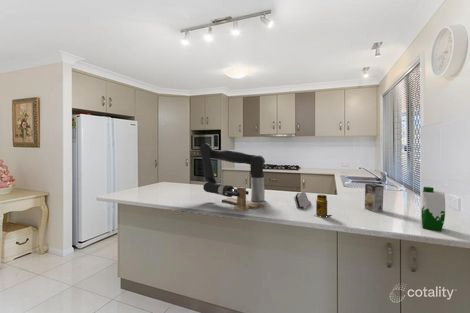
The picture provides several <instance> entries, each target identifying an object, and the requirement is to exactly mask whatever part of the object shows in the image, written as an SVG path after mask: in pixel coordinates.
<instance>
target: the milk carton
mask: <svg viewBox="0 0 470 313" xmlns="http://www.w3.org/2000/svg"><path fill="white" fill-rule="evenodd" d="M422 189H423V190H422V198H421V225H422V229H424V230H430V231H434V232H440V233H441V232H442V231H443V230H442V229H443V227H444V224H445V219H446V196H445V192H443V191H436V190H434V187H431V186H423V188H422Z"/></svg>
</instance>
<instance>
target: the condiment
mask: <svg viewBox="0 0 470 313" xmlns="http://www.w3.org/2000/svg"><path fill="white" fill-rule="evenodd" d="M316 197H317V198H316V201H315V202H316V203H315V204H316V207H315V215H317V216H316V217H318V216H321V217H320V218H323V217H326V216H327V214H328V199H327V197H328V196H327V195H326V194H318V195H316ZM326 218H327V217H326Z"/></svg>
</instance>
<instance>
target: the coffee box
mask: <svg viewBox="0 0 470 313" xmlns="http://www.w3.org/2000/svg"><path fill="white" fill-rule="evenodd" d="M364 187H365V189H364V209H365V210H368V211H369V212H370V211H371V212H373V213H383V211H384V210H383V209H384V189H385V188H384V187H385V186H384V185H380V184H376V183H365V186H364Z"/></svg>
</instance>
